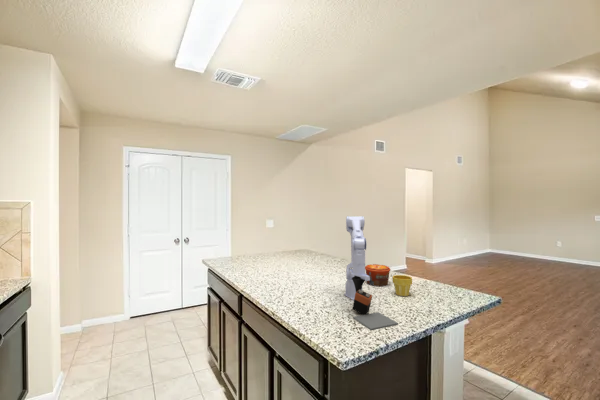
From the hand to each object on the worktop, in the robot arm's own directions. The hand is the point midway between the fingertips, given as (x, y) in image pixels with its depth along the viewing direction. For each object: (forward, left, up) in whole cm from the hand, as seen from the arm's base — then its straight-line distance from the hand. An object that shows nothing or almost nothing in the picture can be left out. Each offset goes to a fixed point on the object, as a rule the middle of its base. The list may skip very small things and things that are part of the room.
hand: (358, 292), depth 134 cm
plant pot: (-12, +38, -9) cm, 41 cm away
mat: (+11, +1, -9) cm, 15 cm away
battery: (+1, 0, -8) cm, 8 cm away
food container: (-35, +39, -9) cm, 53 cm away
